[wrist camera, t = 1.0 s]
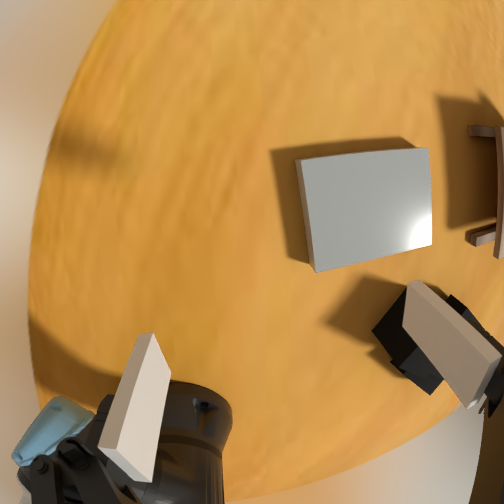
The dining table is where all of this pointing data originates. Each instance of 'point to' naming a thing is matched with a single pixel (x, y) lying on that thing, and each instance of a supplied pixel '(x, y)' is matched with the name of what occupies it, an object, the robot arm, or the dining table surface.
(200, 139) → the dining table surface
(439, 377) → the toy
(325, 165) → the tile
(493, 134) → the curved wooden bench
